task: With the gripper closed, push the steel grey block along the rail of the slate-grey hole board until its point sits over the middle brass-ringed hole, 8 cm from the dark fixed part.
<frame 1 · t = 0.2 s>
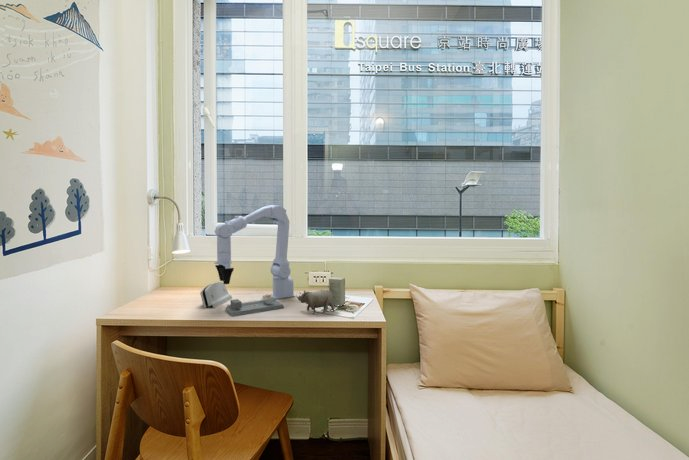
hand: (224, 282, 163), 10 cm above the table, tool pointing down, fingers open, 7 cm apart
skincare box: (336, 305, 165), on the table
grey four-legged figurine: (314, 312, 156), on the table
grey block: (268, 299, 161), point 4 cm above the table, slide at -6.0 cm
grey upright panel: (216, 303, 167), on the table
hole board: (254, 309, 158), on the table
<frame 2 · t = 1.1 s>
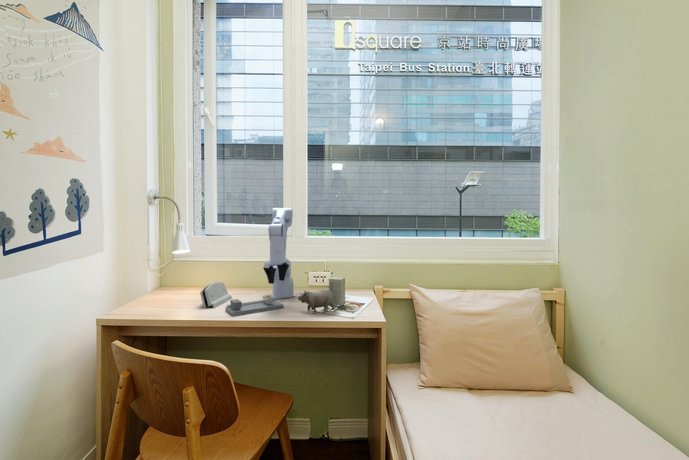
hand: (276, 281, 163), 10 cm above the table, tool pointing down, fingers open, 7 cm apart
nothing on the table moved.
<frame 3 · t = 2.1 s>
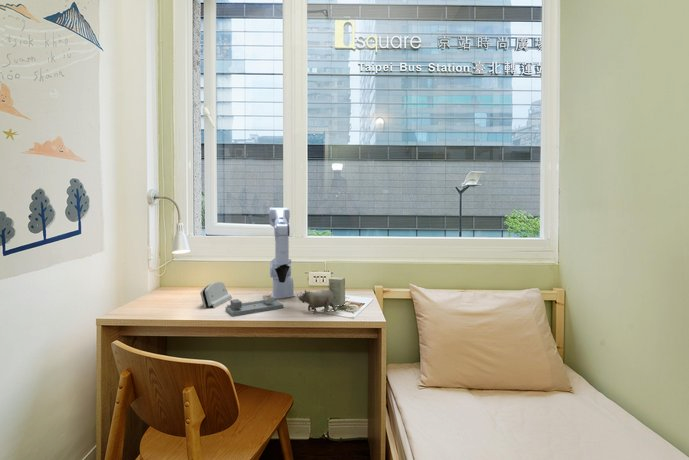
hand: (282, 282, 164), 10 cm above the table, tool pointing down, fingers closed
nothing on the table moved.
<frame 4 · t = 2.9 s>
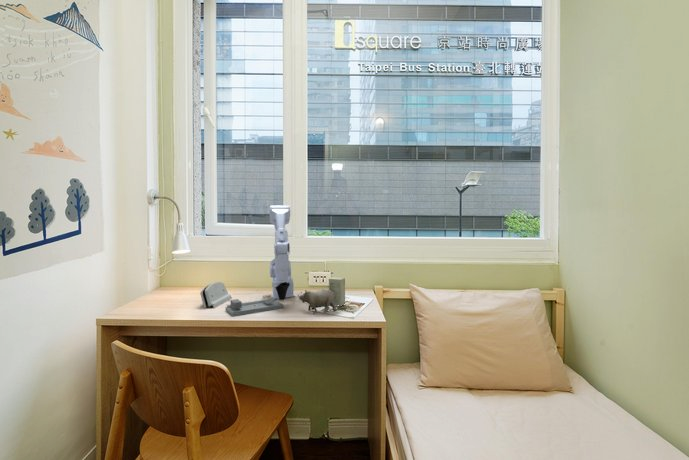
hand: (282, 299, 164), 2 cm above the table, tool pointing down, fingers closed
nothing on the table moved.
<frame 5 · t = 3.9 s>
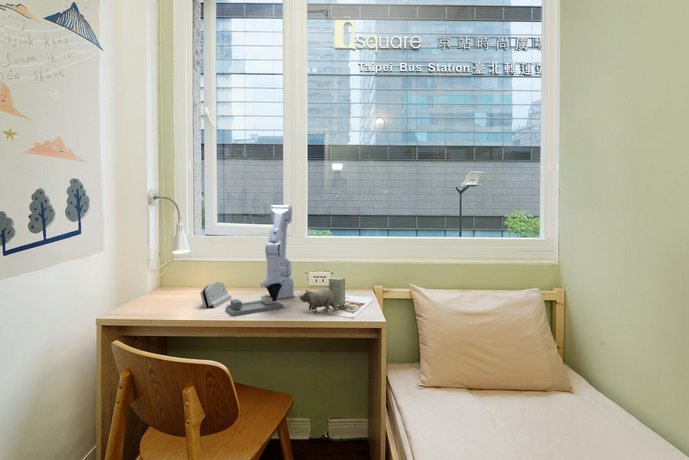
hand: (273, 300, 162), 2 cm above the table, tool pointing down, fingers closed
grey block: (266, 299, 160), point 4 cm above the table, slide at -5.3 cm, touching gripper
everything else where it was.
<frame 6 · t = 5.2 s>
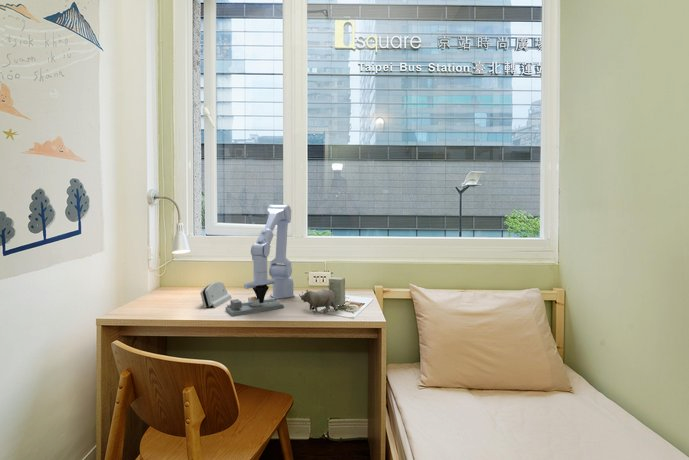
hand: (260, 302, 159), 2 cm above the table, tool pointing down, fingers closed
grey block: (253, 301, 157), point 4 cm above the table, slide at 0.5 cm, touching gripper
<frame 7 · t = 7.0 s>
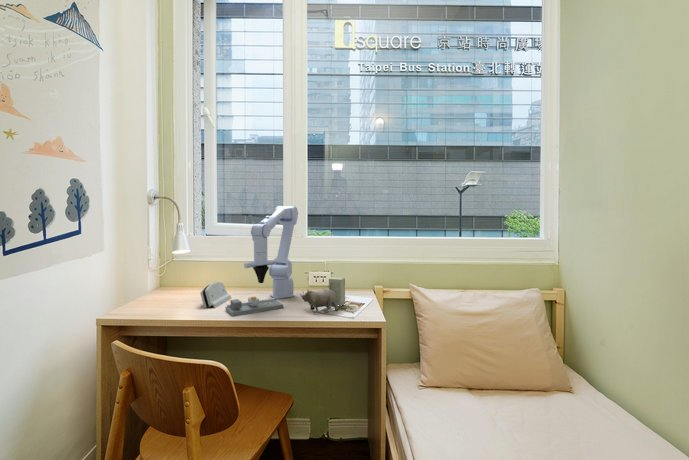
hand: (260, 282, 162), 10 cm above the table, tool pointing down, fingers closed
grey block: (253, 301, 157), point 4 cm above the table, slide at 0.5 cm
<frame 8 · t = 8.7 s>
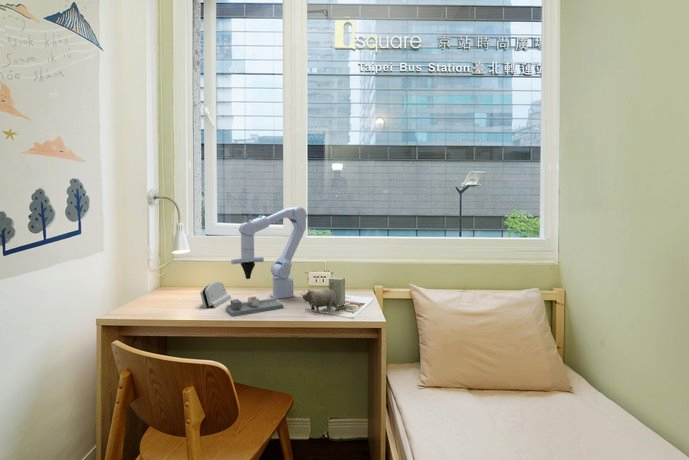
hand: (247, 278, 170), 10 cm above the table, tool pointing down, fingers closed
at the end: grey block slide at 0.5 cm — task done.
